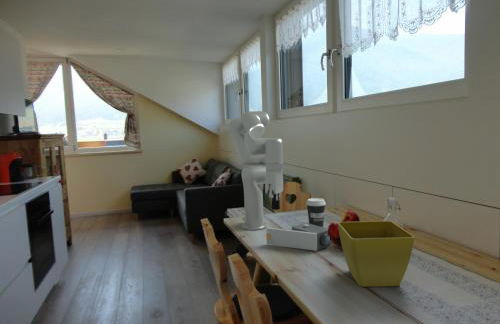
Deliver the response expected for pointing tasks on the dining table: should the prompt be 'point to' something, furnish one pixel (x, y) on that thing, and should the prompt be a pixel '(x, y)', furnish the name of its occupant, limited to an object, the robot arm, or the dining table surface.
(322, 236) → the camera body
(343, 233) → the flower pot
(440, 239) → the dining table surface
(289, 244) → the side door
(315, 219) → the coffee cup
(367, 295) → the dining table surface
